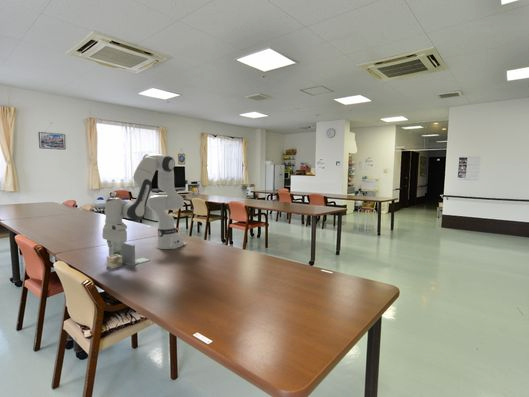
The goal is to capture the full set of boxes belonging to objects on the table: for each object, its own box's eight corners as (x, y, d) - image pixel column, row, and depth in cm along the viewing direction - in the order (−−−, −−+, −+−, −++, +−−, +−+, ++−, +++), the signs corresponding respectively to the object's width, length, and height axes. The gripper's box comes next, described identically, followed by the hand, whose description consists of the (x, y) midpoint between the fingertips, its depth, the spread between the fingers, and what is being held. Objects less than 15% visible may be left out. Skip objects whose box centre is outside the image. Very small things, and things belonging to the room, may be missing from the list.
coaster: (143, 258, 187) (143, 257, 187) (149, 260, 183) (149, 259, 183) (133, 261, 181) (133, 260, 181) (139, 263, 177) (139, 262, 177)
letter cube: (116, 263, 176) (116, 253, 175) (122, 265, 173) (122, 255, 172) (106, 266, 171) (106, 256, 170) (112, 268, 168) (112, 258, 167)
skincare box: (113, 258, 185) (112, 235, 184) (108, 256, 189) (107, 233, 187) (126, 256, 192) (125, 233, 190) (121, 254, 196) (120, 231, 194)
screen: (124, 259, 185) (124, 240, 183) (138, 263, 176) (137, 244, 175) (116, 261, 180) (116, 242, 179) (130, 266, 172) (130, 246, 171)
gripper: (99, 224, 172) (99, 246, 173) (118, 227, 161) (118, 252, 162) (109, 222, 177) (110, 244, 178) (128, 226, 166) (129, 249, 167)
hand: (114, 248), depth 170 cm, fingers open, 8 cm apart
